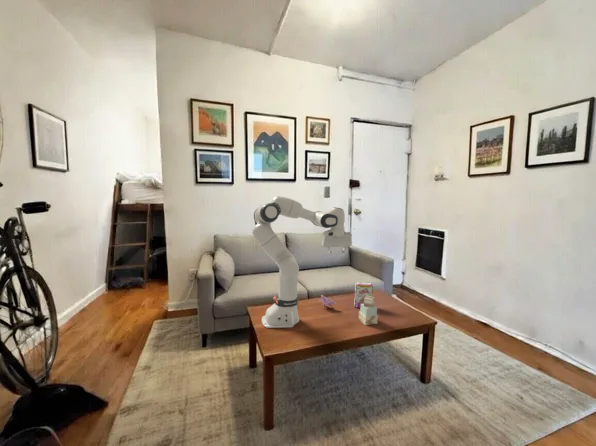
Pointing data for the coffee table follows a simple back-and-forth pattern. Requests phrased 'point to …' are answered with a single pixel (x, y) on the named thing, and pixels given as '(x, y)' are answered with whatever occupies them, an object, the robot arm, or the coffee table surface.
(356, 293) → the candy bar box
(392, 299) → the coffee table surface
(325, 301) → the lily
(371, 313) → the tower top
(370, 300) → the cube
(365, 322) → the tower base
